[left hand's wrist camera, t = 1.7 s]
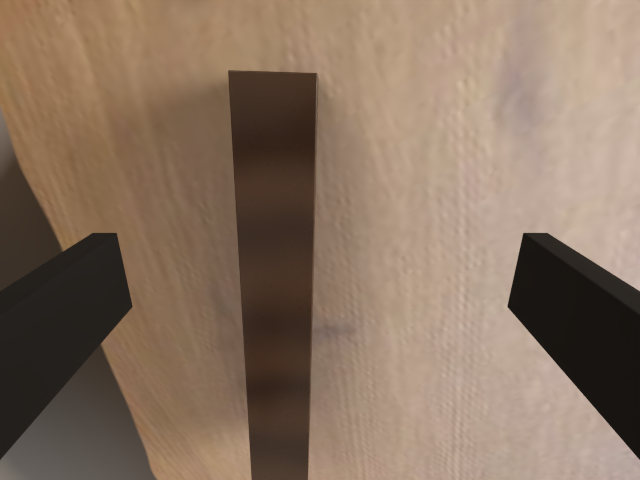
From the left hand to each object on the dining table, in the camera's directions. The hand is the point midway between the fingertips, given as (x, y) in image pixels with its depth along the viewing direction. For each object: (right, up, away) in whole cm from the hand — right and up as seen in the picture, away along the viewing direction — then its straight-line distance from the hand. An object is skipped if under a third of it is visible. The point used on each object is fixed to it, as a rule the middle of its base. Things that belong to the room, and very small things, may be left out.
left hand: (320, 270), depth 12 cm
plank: (-3, -2, +19) cm, 19 cm away
